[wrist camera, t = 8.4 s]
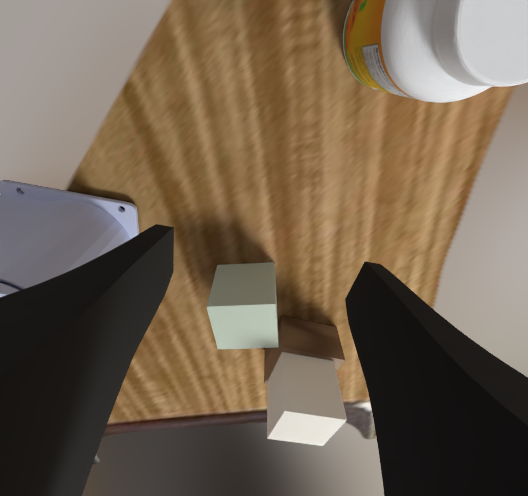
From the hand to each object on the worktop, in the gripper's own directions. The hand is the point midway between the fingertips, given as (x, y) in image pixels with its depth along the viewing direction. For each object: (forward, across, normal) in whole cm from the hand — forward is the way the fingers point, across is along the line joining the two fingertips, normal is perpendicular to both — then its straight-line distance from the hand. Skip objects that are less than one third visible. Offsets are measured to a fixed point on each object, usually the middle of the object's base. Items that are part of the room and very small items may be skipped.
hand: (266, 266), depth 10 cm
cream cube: (+7, -7, +17) cm, 20 cm away
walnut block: (+11, -7, +17) cm, 21 cm away
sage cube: (+10, 0, +11) cm, 15 cm away
